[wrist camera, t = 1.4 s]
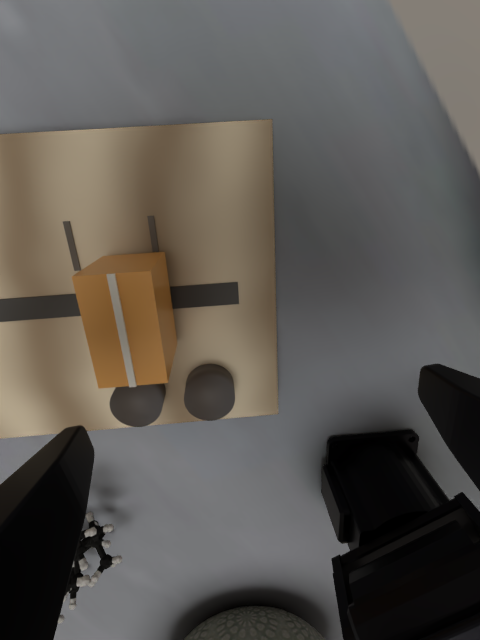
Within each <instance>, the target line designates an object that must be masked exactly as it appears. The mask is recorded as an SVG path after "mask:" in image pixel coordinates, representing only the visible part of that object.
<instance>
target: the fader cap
mask: <svg viewBox="0 0 480 640" xmlns="http://www.w3.org/2000/svg"><path fill="white" fill-rule="evenodd" d="M72 281H73V285H74V289H75V293H76V297H77V301H78V305H79V310H80V314H81V318H82V322H83V326H84V330H85V334H86V339H87V343H88V347H89V351H90V355H91V359H92V363H93V367H94V372H95V376H96V380H97V384H98V388H99V389H100V388H112V387H124V386H129V388H130V387H137V385H148V384H160V383H168V381H169V377H170V373H171V368H172V364H173V360H174V356H175V352H176V347H177V337H176V330H175V322H174V315H173V308H172V301H171V293H170V286H169V279H168V271H167V264H166V257H165V252H154V253H139V254H125V255H110V256H102V257H101V258H99V259H98V260H96V261H95V262H93V263H91V264H90V265H88V266H87V267H85V268H84V269H82V270H81V271H79V272H78V273H76V274H75V275H73V276H72Z"/></svg>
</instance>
